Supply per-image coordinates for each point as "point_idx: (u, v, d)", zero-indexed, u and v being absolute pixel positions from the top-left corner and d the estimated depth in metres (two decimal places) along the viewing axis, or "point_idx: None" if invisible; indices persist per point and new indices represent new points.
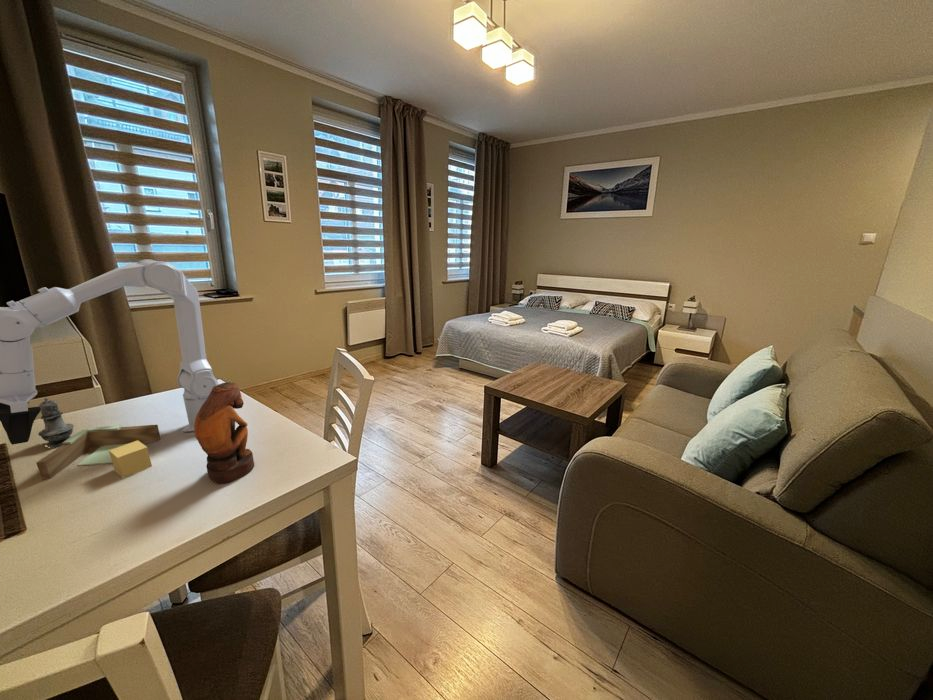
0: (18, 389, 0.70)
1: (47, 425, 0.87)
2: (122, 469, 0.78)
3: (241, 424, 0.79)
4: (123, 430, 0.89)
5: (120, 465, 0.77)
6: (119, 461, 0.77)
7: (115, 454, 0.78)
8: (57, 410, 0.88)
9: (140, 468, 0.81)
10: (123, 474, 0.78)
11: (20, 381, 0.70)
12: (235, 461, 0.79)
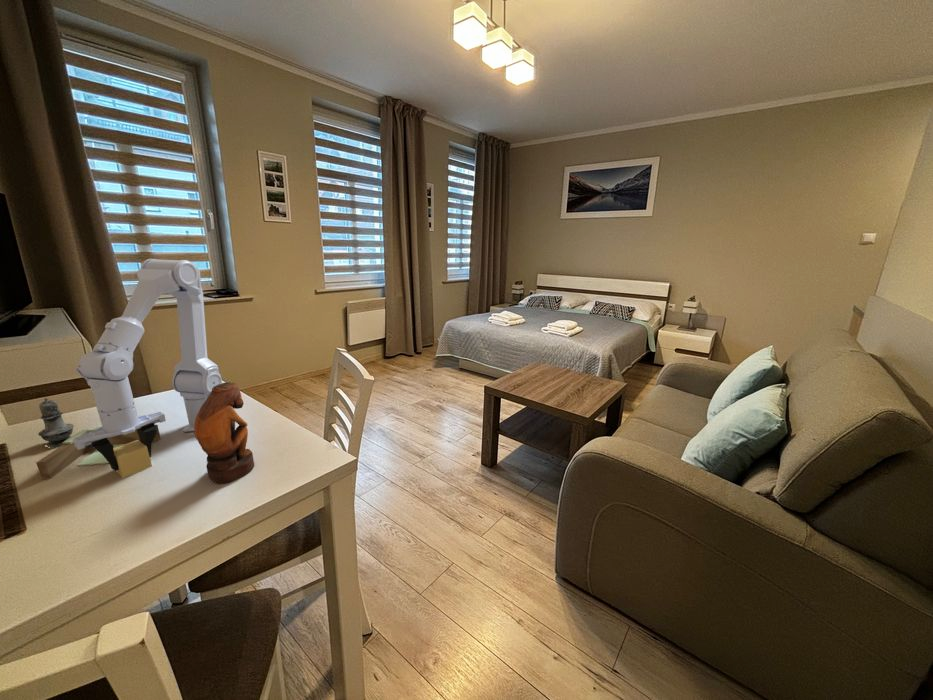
0: None
1: (47, 425, 0.87)
2: (122, 469, 0.78)
3: (241, 424, 0.79)
4: None
5: (120, 465, 0.77)
6: (119, 461, 0.77)
7: (115, 454, 0.78)
8: (57, 410, 0.88)
9: (140, 468, 0.80)
10: (123, 474, 0.78)
11: None
12: (235, 461, 0.79)
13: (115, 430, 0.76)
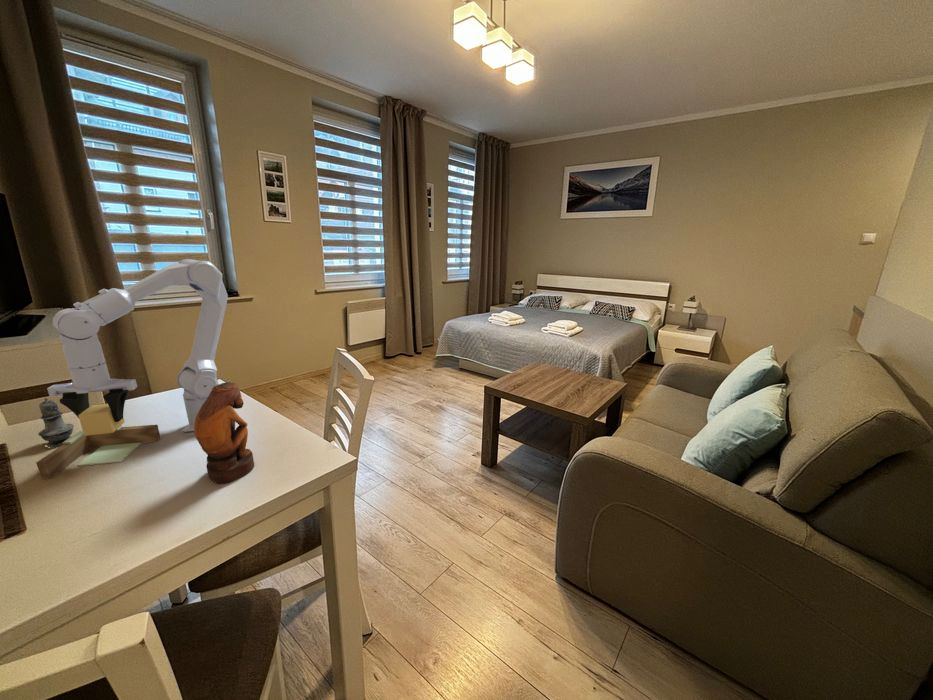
0: (108, 376, 0.81)
1: (47, 425, 0.87)
2: (83, 427, 0.80)
3: (241, 424, 0.79)
4: (123, 430, 0.89)
5: (81, 423, 0.80)
6: (80, 419, 0.79)
7: (84, 411, 0.81)
8: (57, 410, 0.88)
9: (101, 431, 0.81)
10: (85, 432, 0.80)
11: (107, 369, 0.81)
12: (235, 461, 0.79)
13: (76, 387, 0.78)
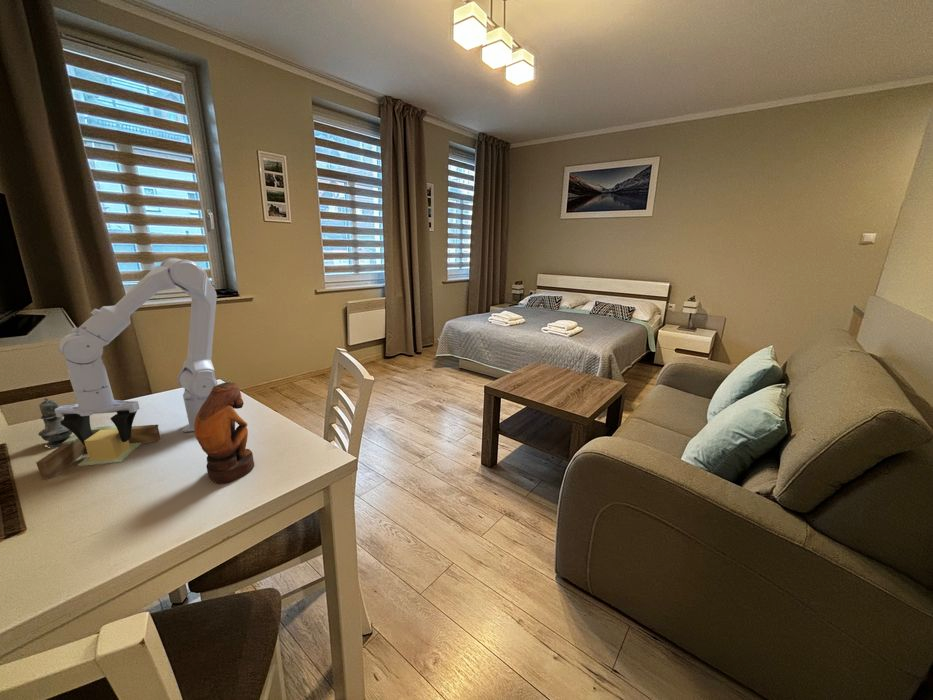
0: (112, 398, 0.83)
1: (47, 425, 0.87)
2: (89, 452, 0.83)
3: (241, 424, 0.79)
4: None
5: (87, 448, 0.82)
6: (86, 444, 0.82)
7: (91, 436, 0.83)
8: None
9: (105, 456, 0.84)
10: (90, 457, 0.83)
11: (111, 391, 0.83)
12: (235, 461, 0.79)
13: (80, 409, 0.80)
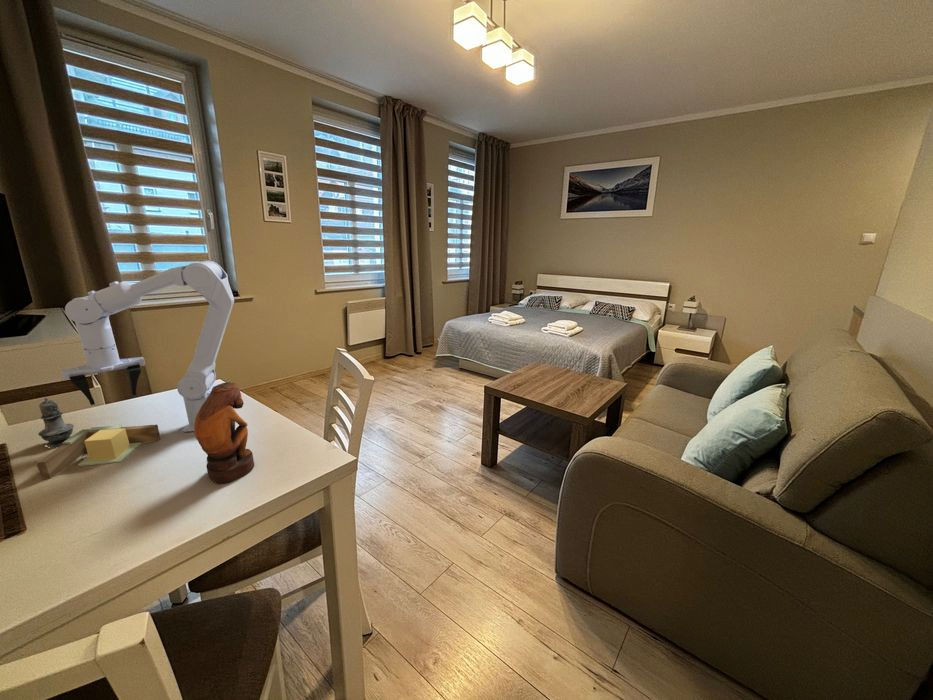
0: None
1: (47, 425, 0.87)
2: (89, 452, 0.83)
3: (241, 424, 0.79)
4: None
5: (87, 448, 0.82)
6: (86, 444, 0.82)
7: (91, 436, 0.83)
8: (57, 410, 0.88)
9: (105, 456, 0.84)
10: (90, 457, 0.83)
11: None
12: (235, 461, 0.79)
13: (96, 367, 0.86)
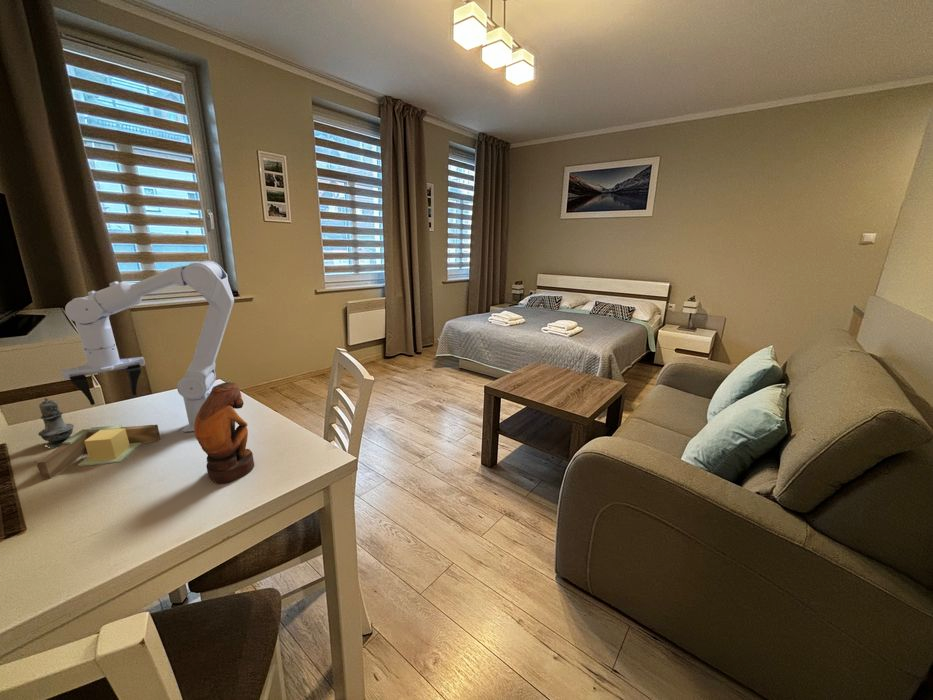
0: None
1: (47, 425, 0.87)
2: (89, 452, 0.83)
3: (241, 424, 0.79)
4: None
5: (87, 448, 0.82)
6: (86, 444, 0.82)
7: (91, 436, 0.83)
8: (57, 410, 0.88)
9: (105, 456, 0.84)
10: (90, 457, 0.83)
11: None
12: (235, 461, 0.79)
13: (96, 367, 0.86)
